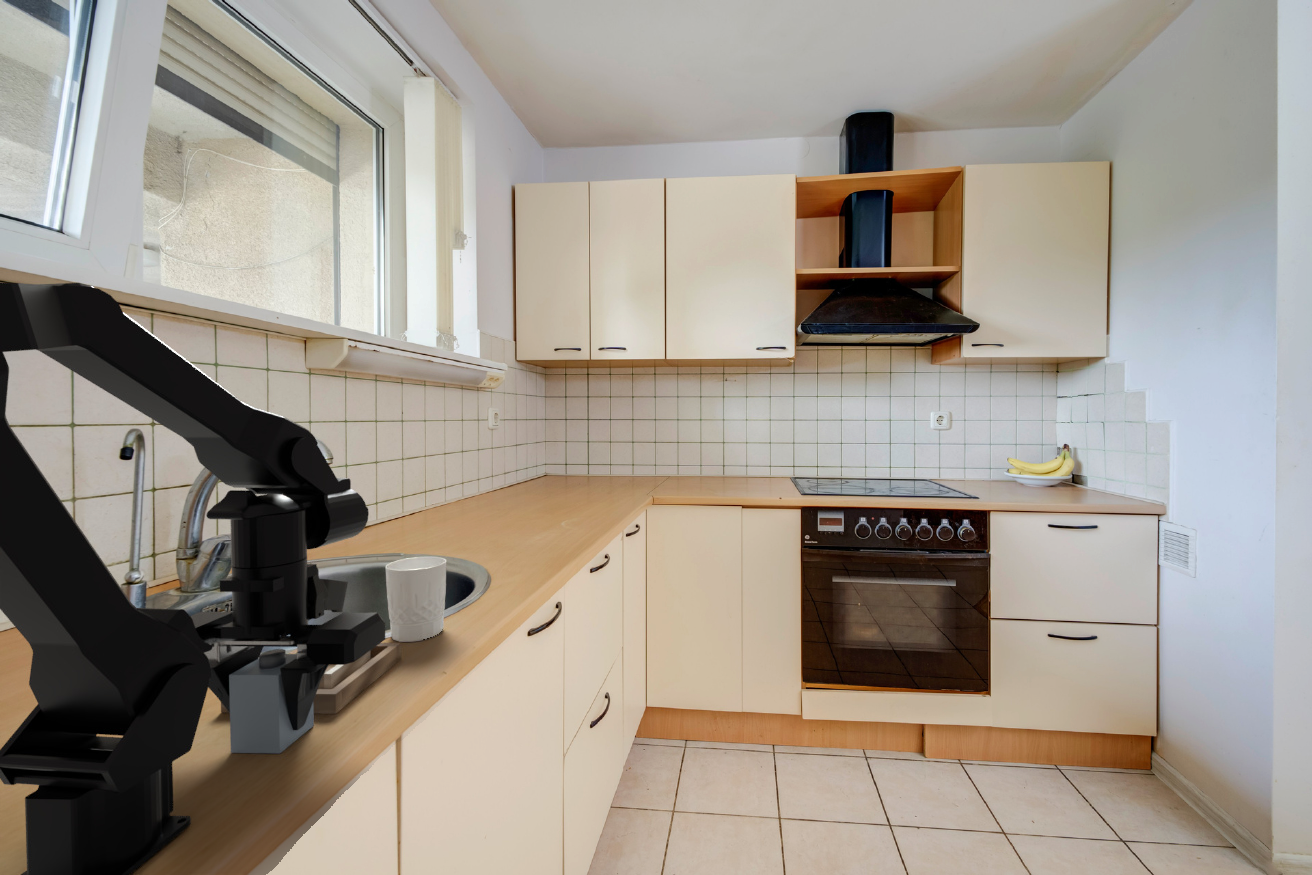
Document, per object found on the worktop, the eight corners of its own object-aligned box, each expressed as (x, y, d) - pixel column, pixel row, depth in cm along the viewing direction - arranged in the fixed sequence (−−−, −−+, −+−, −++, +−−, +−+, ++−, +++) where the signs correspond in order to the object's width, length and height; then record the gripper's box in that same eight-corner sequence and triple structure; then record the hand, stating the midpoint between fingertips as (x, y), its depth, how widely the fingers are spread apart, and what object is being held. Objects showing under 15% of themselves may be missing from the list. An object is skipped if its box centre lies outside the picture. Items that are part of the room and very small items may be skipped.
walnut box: (335, 713, 55) (335, 693, 55) (221, 712, 55) (220, 691, 55) (401, 658, 68) (400, 642, 68) (307, 657, 68) (307, 641, 68)
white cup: (415, 620, 81) (414, 554, 81) (459, 626, 79) (458, 558, 78) (373, 640, 74) (372, 567, 73) (420, 647, 71) (419, 572, 71)
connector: (279, 753, 48) (278, 664, 48) (230, 752, 48) (228, 663, 48) (313, 725, 52) (312, 643, 52) (268, 724, 52) (267, 643, 52)
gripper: (411, 542, 58) (414, 687, 58) (242, 542, 58) (245, 685, 59) (348, 569, 46) (351, 748, 47) (140, 569, 47) (144, 745, 47)
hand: (273, 727), depth 50 cm, fingers closed on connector, 4 cm apart
